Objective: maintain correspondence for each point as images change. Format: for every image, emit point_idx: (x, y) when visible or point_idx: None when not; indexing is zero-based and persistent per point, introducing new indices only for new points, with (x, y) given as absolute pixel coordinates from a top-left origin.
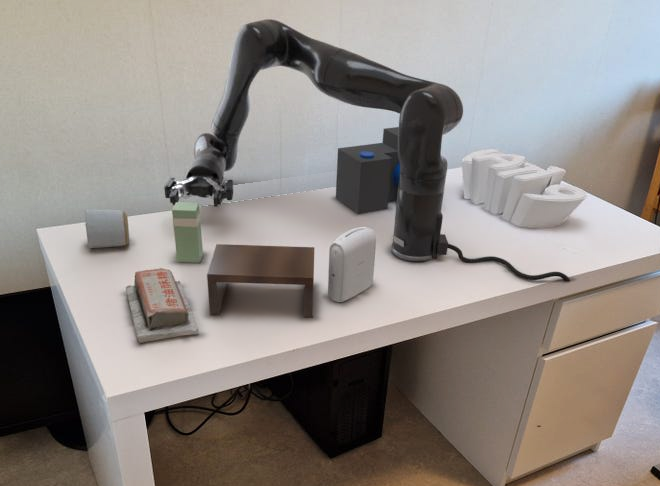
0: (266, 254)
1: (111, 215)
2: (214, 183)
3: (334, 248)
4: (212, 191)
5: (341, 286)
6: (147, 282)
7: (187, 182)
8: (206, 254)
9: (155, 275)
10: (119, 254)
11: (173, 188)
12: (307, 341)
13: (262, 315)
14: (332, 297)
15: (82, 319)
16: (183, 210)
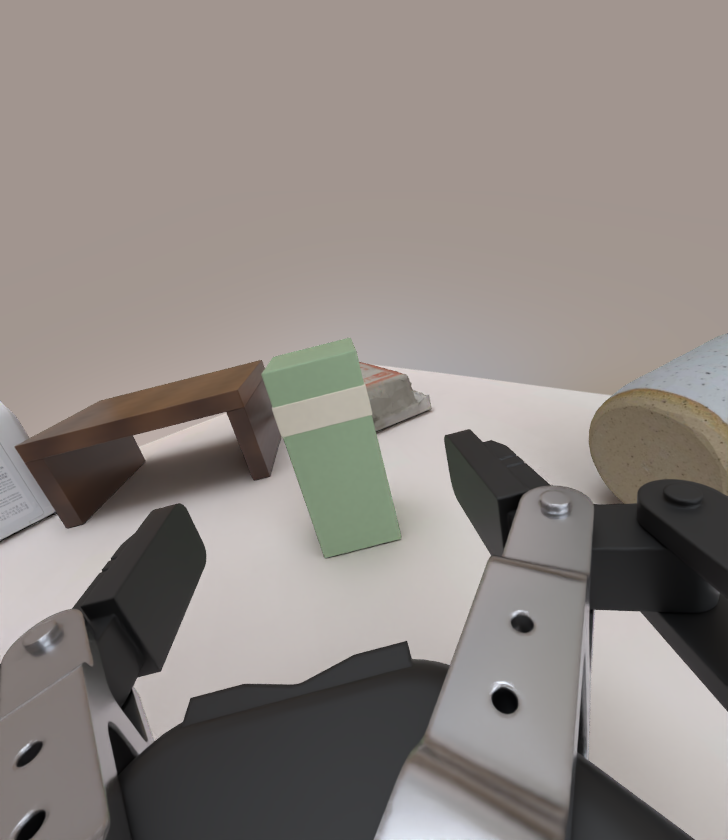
0: (142, 404)
1: (663, 367)
2: (24, 718)
3: (6, 407)
4: (135, 740)
5: None
6: (369, 370)
7: (470, 611)
8: (312, 563)
9: (364, 378)
10: (594, 475)
11: (552, 487)
12: (165, 437)
13: (206, 447)
14: None
15: (454, 375)
16: (312, 347)
